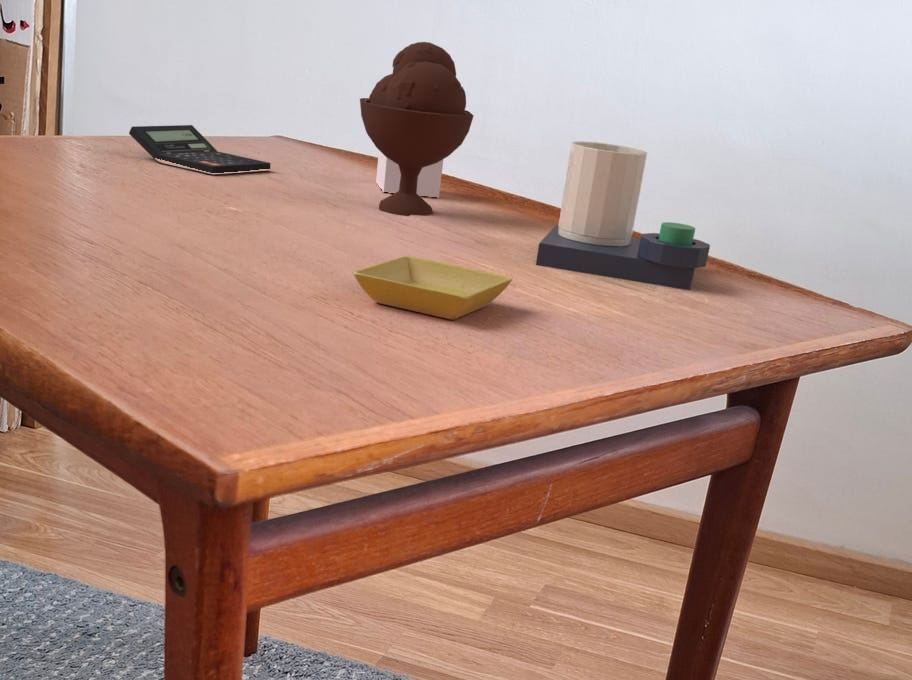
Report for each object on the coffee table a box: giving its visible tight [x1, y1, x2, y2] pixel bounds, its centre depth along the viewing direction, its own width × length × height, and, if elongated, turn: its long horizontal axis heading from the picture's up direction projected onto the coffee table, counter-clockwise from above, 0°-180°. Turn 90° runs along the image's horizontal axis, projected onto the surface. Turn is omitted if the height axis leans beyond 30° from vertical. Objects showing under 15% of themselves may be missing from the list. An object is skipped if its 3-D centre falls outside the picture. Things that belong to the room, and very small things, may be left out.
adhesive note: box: [375, 150, 444, 199], centre depth 132 cm, size 6×6×6 cm
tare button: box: [658, 221, 696, 245], centre depth 102 cm, size 3×3×2 cm
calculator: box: [128, 124, 271, 173], centre depth 132 cm, size 9×12×3 cm
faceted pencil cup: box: [557, 140, 648, 247], centre depth 107 cm, size 6×6×8 cm
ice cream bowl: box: [359, 41, 474, 217], centre depth 118 cm, size 11×11×15 cm
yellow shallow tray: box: [352, 255, 513, 321], centre depth 86 cm, size 9×9×2 cm
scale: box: [535, 224, 711, 291], centre depth 107 cm, size 14×12×4 cm
